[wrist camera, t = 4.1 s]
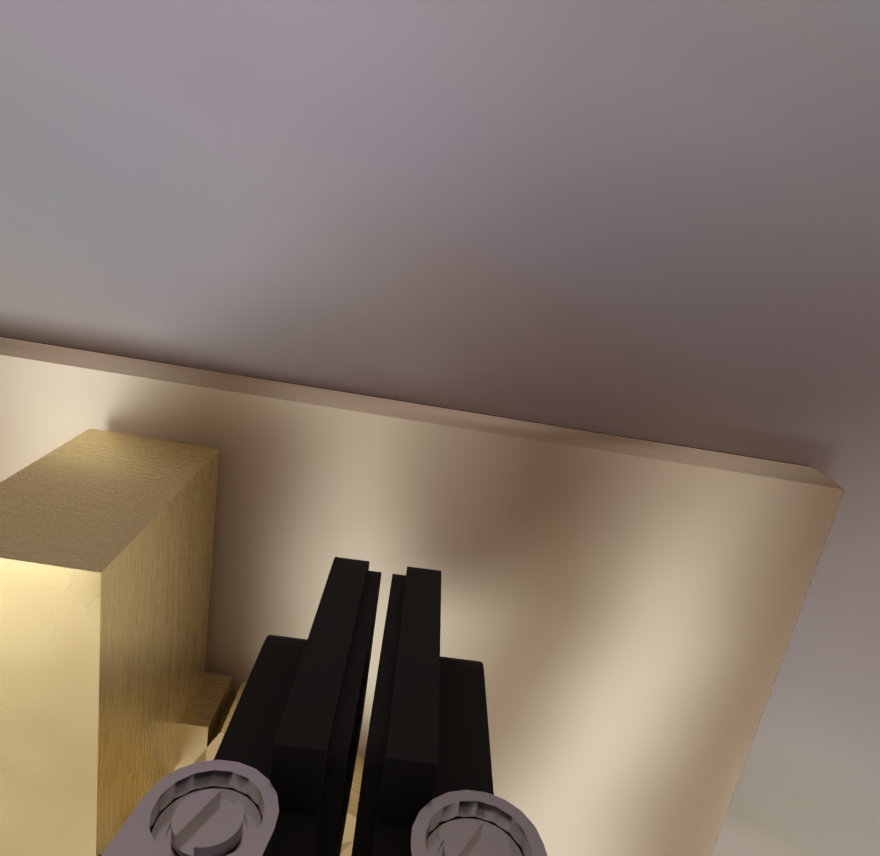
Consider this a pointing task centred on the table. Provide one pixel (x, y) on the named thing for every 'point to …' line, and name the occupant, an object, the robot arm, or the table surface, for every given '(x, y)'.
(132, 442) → the ring nut
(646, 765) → the base
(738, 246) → the table surface
